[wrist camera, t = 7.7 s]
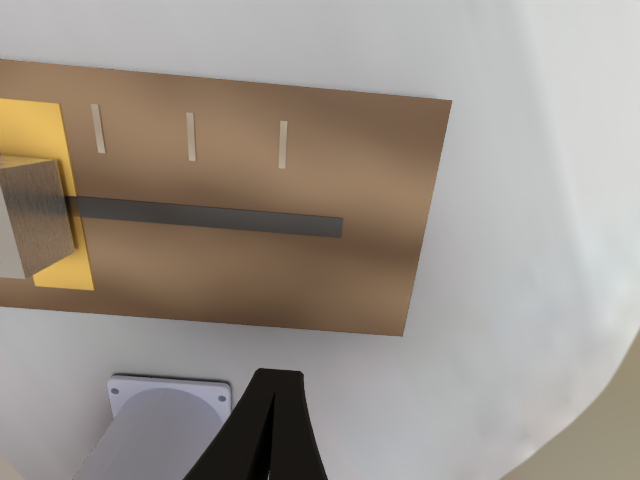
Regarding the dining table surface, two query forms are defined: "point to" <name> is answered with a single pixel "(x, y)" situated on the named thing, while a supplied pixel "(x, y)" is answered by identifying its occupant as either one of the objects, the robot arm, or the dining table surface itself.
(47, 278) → the fader console
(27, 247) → the fader knob
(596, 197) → the dining table surface
